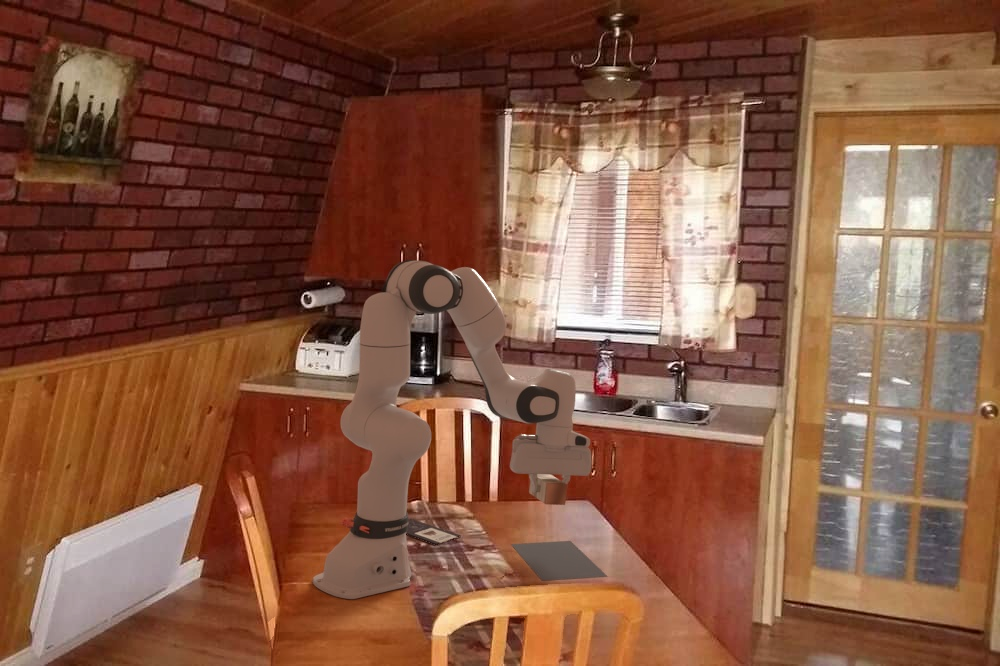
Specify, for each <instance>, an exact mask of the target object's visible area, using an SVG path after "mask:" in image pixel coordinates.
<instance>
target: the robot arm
mask: <svg viewBox="0 0 1000 666" xmlns="http://www.w3.org/2000/svg"><path fill="white" fill-rule="evenodd" d="M417 312H418V313H423V314H427V315H435V314H440V313H443V312H447V313H448V314H449V315H450V317H451V320H452V321H453V323H454V325H455V327H456V328H457V331H458V332H459V334H460V335H461V337H462V339H463V341H464V344H465V346H466V350H467V352H468V353H469V356H470V358H471V361H472V362H473V365H474V367H475V369H476V372H477V373H478V375H479V377H480V380H481V382H482V384H483V388H484V392H485V400H486V403H487V407H488V409H489V411H491V413H492V414H493V415H494V416H496V417H498V418H503V419H510V420H513V421H517V422H522V423H525V424H536V426H535V427H536V429H535V434H518V436H516V437H514V438H513V440H512V443H511V444H512V445H511V447H512V452H511V456H510V457H511V458H510V462H509V468H510V470H511V471H512V472H513V473H515V474H525V475H526V474H527V475H528V477H529V481H530V480H531V482H532V484H533V485H532V491H533V492H540V486H541V485H539V484H537V483H536V480H535V478H537V474H551V475H553V476H554V475H557V476H561V478H562V479H561V481H563V482H564V483H566V484H567V485H568V483H569V482H570V480H571V476H585V477H586V476H589V475H590V474H591V471H592V451H591V449H590V448H589V447H590V445H591V439H590V438H589V437H587V436H586V435H583V434H581V433H579V432H577V431H576V430H573V427H574V422H573V413H574V410H575V407H576V397H577V396H576V390H577V388H576V380H575V377H574V376H573V375H572V374H571V373H568V372H566V371H562V370H558V369H553V368H547V369H546V368H545V370H544V371H543V373H541V374H540V375H538V376H536V377H535V378H533V379H530V380H527V381H524V380H521V379H520V380H519V379H516V378H515V377H513V376H511V375H510V374H509V373H508V372H507V370H506V369H505V366H504V364H503V362H502V359H501V358H500V356H499V354H498V352H497V348H496V344H498V343H499V342H500V341H501V340H502V339H503V337H504V336H505V333H506V330H507V325H508V324H507V320H506V317H505V313H504V312H503V309H502V307H501V305H500V303H499V302H498V300H497V299H496V297H495V295H494V293H493V292H492V290H491V288H490V287H489V285H488V284H487V283H486V281H485V280H484V279H483V278H482V276H481V275H480V274H479V273H478V272H477V271H476V270H475V269H474V268H471V267H466V266H463V267H458V268H455V269H453V270H451V271H450V270H449V269H447V268H445V267H443V266H440V265H438V264H433V263H431V262H428V261H425V260H415V259H409V260H407V259H406V260H403V261H401V262H398V263H397V264H395V265H394V266H393V267H392V268H391V270H390V271H389V273H388V274H387V277H386V280H385V281H384V284H383V286H382V288H381V292H378V293H375V294H372V295H371V296H369V297H368V298H367V299H366V300H365V302H364V304H363V308H362V314H361V320H360V327H359V328H360V329H359V364H358V365H359V366H358V367H359V368H358V370H359V372H358V381H357V385H356V390H355V392H354V394H353V398H352V401H351V402H350V403H349V404H347V406H346V407H345V408H344V409H343V411H342V414H341V416H340V423H339V424H340V429H341V432H342V433H343V435H344V437H346V438H347V439H348V440H349V441H351V442H352V443H353V444H354V445H356V446H358V447H359V448H362V449H364V450H367V451H371V454H372V456H371V462H370V465H369V468H368V470H367V471H366V472H364V473H362V475H361V476H360V477H359V478H358V482H357V505H356V508H357V509H356V512H355V515H354V516H353V519H350V518H349V517H344V518H342V520H341V525H342V527H344V528H347V529H349V532H348V533H347V535H345V536H344V537H343V538H342V539H341V540H340V542H339V543H337V544H336V545H335V547H334V548H333V549H332V550H331V551H330V552H329V553H328V554H327V555H326V558H325V562H324V567H323V568H324V569H323V572H321V573H318V574H316V575H315V576H313V577H312V584H313V585H314V587H316V588H317V589H319V590H320V591H322V592H324V593H326V594H328V595H330V596H333V597H337V598H341V599H347V600H356V599H359V598H364V597H367V596H368V597H369V596H372V595H376V594H381V593H385V592H389V591H394V590H398V589H403V588H406V587H410V586H411V577H412V575H413V574H412V570H411V566H410V560H409V555H408V553H409V552H408V543H407V535H406V531H407V530H408V519H409V513H408V512H407V511H408V510H407V509H408V493H409V492H408V491H409V490H408V489H409V482H410V478H411V475H412V471H413V469H414V466H415V465H416V463H417V461H418V460H419V459H421V458H422V457H423V456H424V455H425V454H426V453H427V451H428V450H429V448H430V444H431V441H432V431H431V427H430V425H429V424H428V422H427V421H426V420H425V419H423V418H422V417H421V416H419V415H418V414H416V413H415V412H413V411H412V410H408V409H405V408H402V407H398V406H397V398H398V395H399V392H400V389H401V387H402V386H404V385H406V383H407V382H408V381H409V380H410V376H411V327H412V322H413V320H414V317H415V315H416V314H417Z"/></svg>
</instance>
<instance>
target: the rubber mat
mask: <svg viewBox="0 0 1000 666" xmlns="http://www.w3.org/2000/svg"><path fill="white" fill-rule="evenodd" d="M510 545H511V547H512V548H513V549H514V550H515V551H516V552H517V553H518V555H519V556H520V557H521V558H522V559H523V561H524V562H525V563H526V564H527V565H528V566H529V568H530V569H531V570H532V571H533V572H534V574H536V575H537V577H538V578H539V579H540V580H541V582H547V581H549V582H550V581H563V580H576V579H577V580H578V579H591V578H594V579H595V578H605V577H608V575H607V574H606V573H605V572H604V571H603V570H602V569H601V568H600V567H599V566H598V565H596V563H594V562H593V561H592V560H591V559H590V558H589V557H588V556H587V555H586V554H585V553H584V552H583V551H582V550H581V549H579V547H578V546H576V544H574V543H573V541H571V540H562V541H560V540H558V541H542V542H527V543H511V544H510Z"/></svg>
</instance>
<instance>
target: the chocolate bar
mask: <svg viewBox="0 0 1000 666" xmlns="http://www.w3.org/2000/svg"><path fill="white" fill-rule="evenodd" d="M444 530H445V529H442V528H439V527H437V526H434V525H431V524H427V523H425V522H423V521H419V520H416V519H414V518H408V530H407V531H406V534H408V535H410V536H413V537H416V538H419V539H422V540H424V541H427V542H430V543H432V544H431V545H433V544H435V545H437V546H439V545H438V544H440V543H442V542H445V541H448V540H450V539H453V538H456V537H459V536H460V537H461V535H460V534H458V533H454V532H451V531H448V530H445V531H444ZM410 536H409V537H410ZM413 537H412V538H413ZM416 538H415V539H416ZM419 539H418V540H419ZM424 541H423V542H424ZM427 542H426V543H427ZM430 543H429V544H430ZM435 545H434V546H435ZM440 545H441V544H440Z"/></svg>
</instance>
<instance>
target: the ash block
mask: <svg viewBox="0 0 1000 666" xmlns="http://www.w3.org/2000/svg"><path fill="white" fill-rule="evenodd" d="M535 480H536V483H537V484H539V485H541V486H540V492H533V491H532V485H533V484H532V482H531V480H530V479H529V487H528V488H529V489H528V493H529V494H530V495H531V496H533V497H534V498H535V499H537V500H539V501H540V502H542V503H543V504H545V505H552V506H554V505H555V506H556V505H557V506H565V505H566V501H567V500H566V499H567V498H566V497H567V492H568V491H567V490H568V483H567V484H566V483H564V482H563V481H562V479H559V478H557V477H555V476H554V475H553V474H537V478H535Z"/></svg>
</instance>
